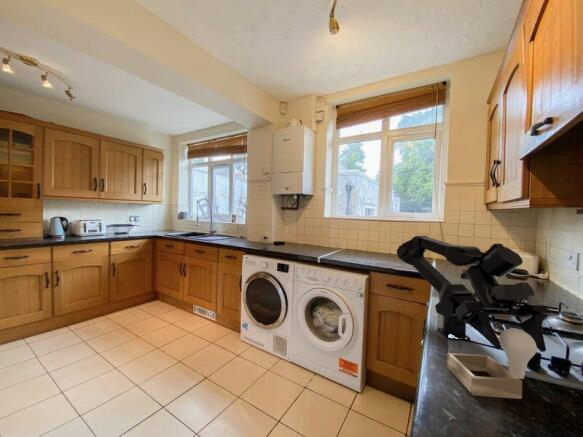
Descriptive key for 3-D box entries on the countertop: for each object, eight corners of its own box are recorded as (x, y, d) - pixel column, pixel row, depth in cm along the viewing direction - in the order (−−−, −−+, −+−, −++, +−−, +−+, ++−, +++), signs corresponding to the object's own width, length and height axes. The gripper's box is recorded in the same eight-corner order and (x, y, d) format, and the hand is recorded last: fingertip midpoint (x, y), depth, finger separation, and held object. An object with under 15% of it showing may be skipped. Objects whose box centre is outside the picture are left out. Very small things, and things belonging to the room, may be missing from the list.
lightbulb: (498, 366, 59) (499, 321, 59) (533, 377, 55) (535, 329, 55) (498, 379, 54) (500, 330, 54) (537, 392, 50) (539, 339, 50)
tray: (446, 367, 58) (447, 352, 58) (487, 369, 57) (487, 355, 57) (473, 395, 49) (473, 378, 49) (521, 398, 48) (522, 381, 48)
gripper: (463, 267, 59) (498, 334, 48) (544, 270, 58) (599, 339, 47) (444, 290, 67) (470, 352, 56) (515, 293, 66) (556, 356, 55)
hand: (521, 350), depth 53 cm, fingers open, 9 cm apart
